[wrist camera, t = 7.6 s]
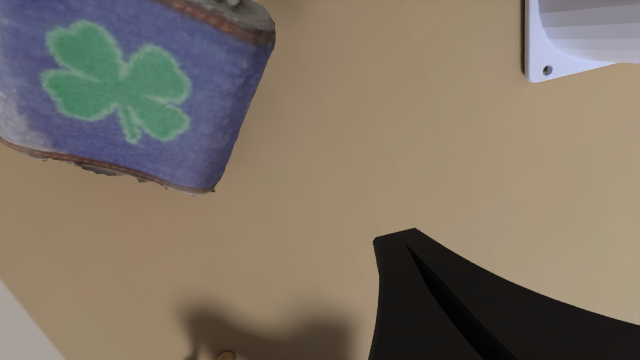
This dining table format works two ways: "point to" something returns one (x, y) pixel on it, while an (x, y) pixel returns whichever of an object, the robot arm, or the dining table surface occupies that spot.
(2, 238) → the dining table surface
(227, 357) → the lion figurine
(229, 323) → the dining table surface
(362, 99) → the dining table surface
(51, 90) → the flask
